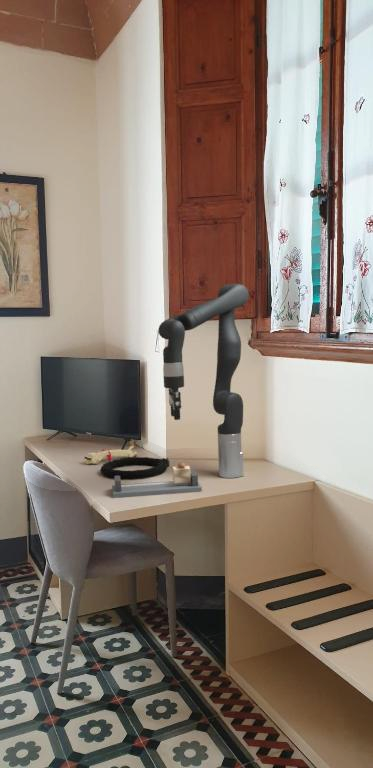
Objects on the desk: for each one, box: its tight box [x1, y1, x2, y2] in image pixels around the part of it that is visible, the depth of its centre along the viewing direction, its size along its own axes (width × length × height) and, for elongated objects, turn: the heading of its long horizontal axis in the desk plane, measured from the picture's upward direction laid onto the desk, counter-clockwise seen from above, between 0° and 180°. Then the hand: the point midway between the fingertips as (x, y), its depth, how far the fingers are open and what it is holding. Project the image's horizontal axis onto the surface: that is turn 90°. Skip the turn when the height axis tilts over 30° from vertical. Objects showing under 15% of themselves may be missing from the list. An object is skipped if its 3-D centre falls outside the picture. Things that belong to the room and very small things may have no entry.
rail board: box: [111, 469, 203, 499], centre depth 240 cm, size 32×12×6 cm, turn 98°
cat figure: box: [83, 440, 138, 465], centre depth 291 cm, size 10×9×25 cm
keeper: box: [172, 462, 192, 483], centre depth 241 cm, size 6×5×7 cm
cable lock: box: [100, 456, 171, 480], centre depth 271 cm, size 28×4×30 cm
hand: (175, 417), depth 242 cm, fingers open, 8 cm apart
